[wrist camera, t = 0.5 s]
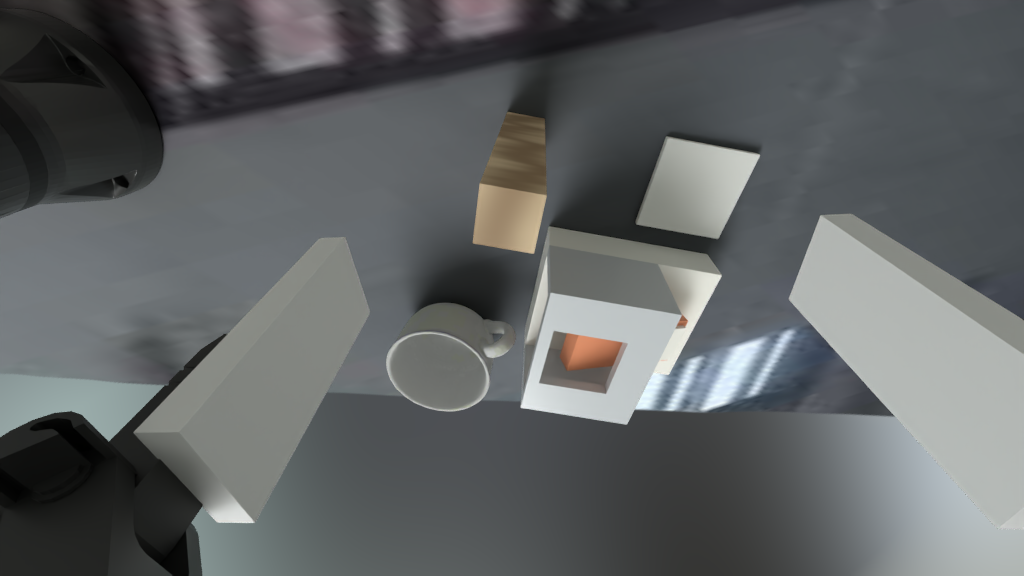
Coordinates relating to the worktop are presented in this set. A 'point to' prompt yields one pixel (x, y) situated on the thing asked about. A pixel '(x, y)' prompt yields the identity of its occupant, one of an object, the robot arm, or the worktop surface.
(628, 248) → the white boxy piece
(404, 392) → the teacup
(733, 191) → the pad
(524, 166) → the oak stick
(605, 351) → the breaker rocker
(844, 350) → the robot arm
